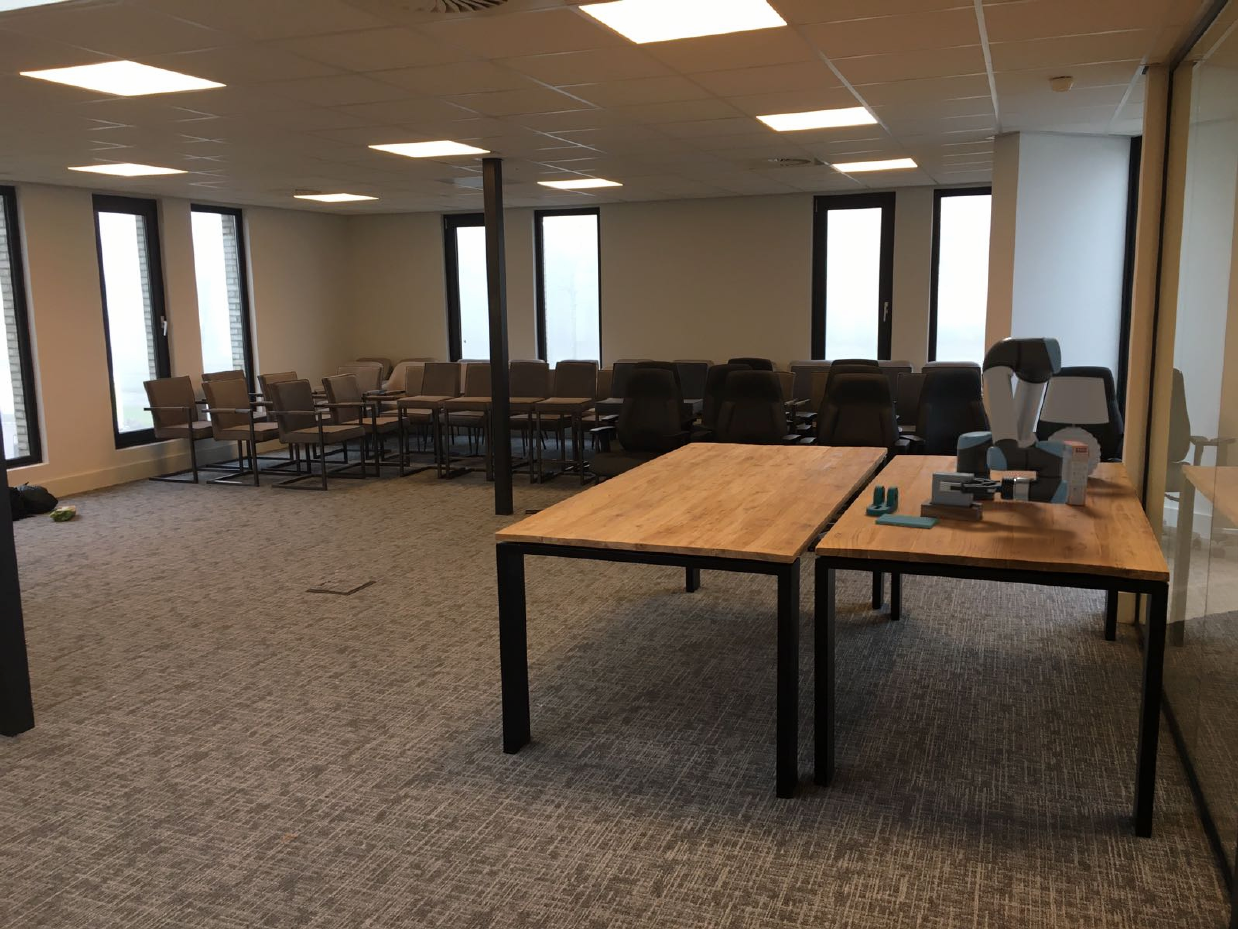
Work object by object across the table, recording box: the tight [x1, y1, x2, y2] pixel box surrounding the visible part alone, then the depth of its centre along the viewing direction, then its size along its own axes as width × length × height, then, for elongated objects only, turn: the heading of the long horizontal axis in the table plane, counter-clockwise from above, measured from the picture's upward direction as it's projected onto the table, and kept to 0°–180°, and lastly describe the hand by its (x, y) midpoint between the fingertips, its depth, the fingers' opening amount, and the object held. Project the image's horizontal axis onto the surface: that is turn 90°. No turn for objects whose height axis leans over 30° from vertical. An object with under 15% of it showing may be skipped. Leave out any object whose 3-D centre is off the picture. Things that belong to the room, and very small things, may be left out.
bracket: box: [865, 485, 899, 517], centre depth 334 cm, size 18×7×8 cm, turn 151°
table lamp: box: [1039, 376, 1110, 477], centre depth 400 cm, size 25×25×40 cm
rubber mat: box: [874, 513, 939, 529], centre depth 316 cm, size 12×17×1 cm
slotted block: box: [919, 498, 983, 522], centre depth 326 cm, size 12×18×4 cm, turn 62°
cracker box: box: [1062, 441, 1090, 506], centre depth 348 cm, size 14×6×21 cm, turn 168°
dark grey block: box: [930, 470, 974, 508], centre depth 326 cm, size 6×12×14 cm, turn 62°
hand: (943, 483), depth 326 cm, fingers open, 11 cm apart
